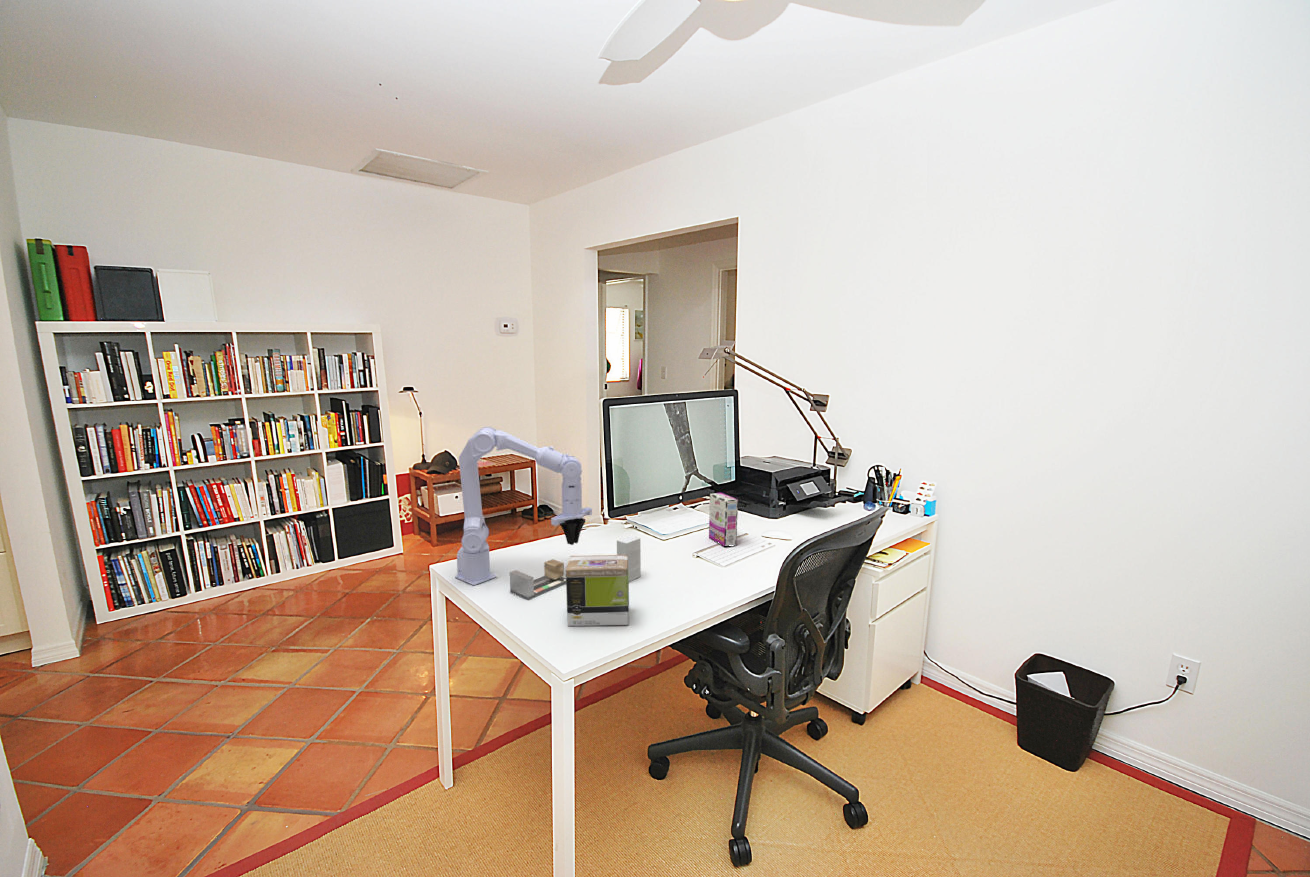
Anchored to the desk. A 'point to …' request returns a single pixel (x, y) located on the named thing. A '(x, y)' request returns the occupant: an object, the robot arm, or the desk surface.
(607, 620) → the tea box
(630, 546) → the skincare box
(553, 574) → the gauge slider
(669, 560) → the desk surface
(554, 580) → the gauge bed
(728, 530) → the candy bar box
